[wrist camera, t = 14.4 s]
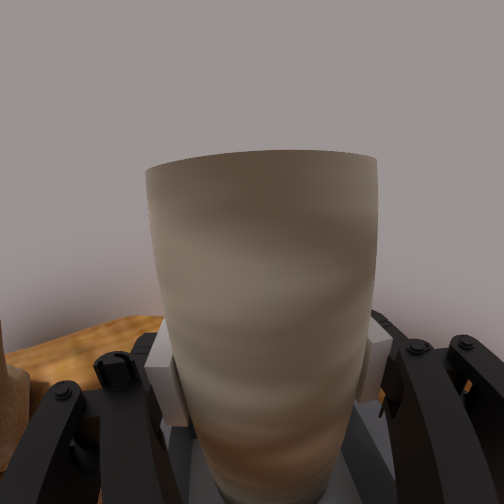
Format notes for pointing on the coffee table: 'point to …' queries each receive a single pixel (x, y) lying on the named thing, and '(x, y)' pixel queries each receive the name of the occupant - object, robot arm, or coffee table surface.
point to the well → (343, 476)
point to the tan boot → (12, 407)
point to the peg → (267, 308)
